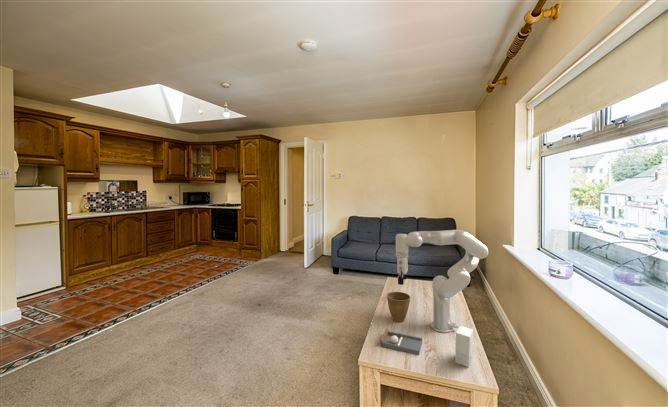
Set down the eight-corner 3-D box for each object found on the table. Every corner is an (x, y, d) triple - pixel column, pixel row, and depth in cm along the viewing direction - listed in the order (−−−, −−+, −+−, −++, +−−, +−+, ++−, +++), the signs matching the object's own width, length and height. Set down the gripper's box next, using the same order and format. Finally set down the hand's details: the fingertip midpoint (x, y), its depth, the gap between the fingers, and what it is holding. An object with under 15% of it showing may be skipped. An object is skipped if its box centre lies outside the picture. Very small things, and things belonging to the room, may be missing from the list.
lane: (422, 341, 150) (422, 335, 150) (419, 355, 138) (419, 348, 138) (386, 334, 158) (386, 328, 158) (380, 346, 147) (380, 339, 146)
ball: (392, 341, 152) (399, 341, 150) (390, 344, 148) (397, 345, 146) (391, 333, 152) (397, 334, 150) (389, 337, 148) (396, 337, 147)
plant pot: (411, 326, 167) (411, 301, 166) (386, 324, 170) (386, 299, 169) (409, 315, 182) (409, 292, 181) (387, 313, 185) (386, 290, 184)
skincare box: (459, 354, 138) (459, 325, 137) (473, 359, 134) (474, 329, 133) (454, 363, 132) (454, 331, 131) (469, 368, 127) (469, 336, 127)
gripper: (405, 258, 155) (406, 287, 156) (410, 251, 171) (410, 278, 172) (392, 257, 158) (393, 285, 159) (398, 250, 174) (398, 276, 175)
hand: (402, 281), depth 165 cm, fingers open, 9 cm apart
